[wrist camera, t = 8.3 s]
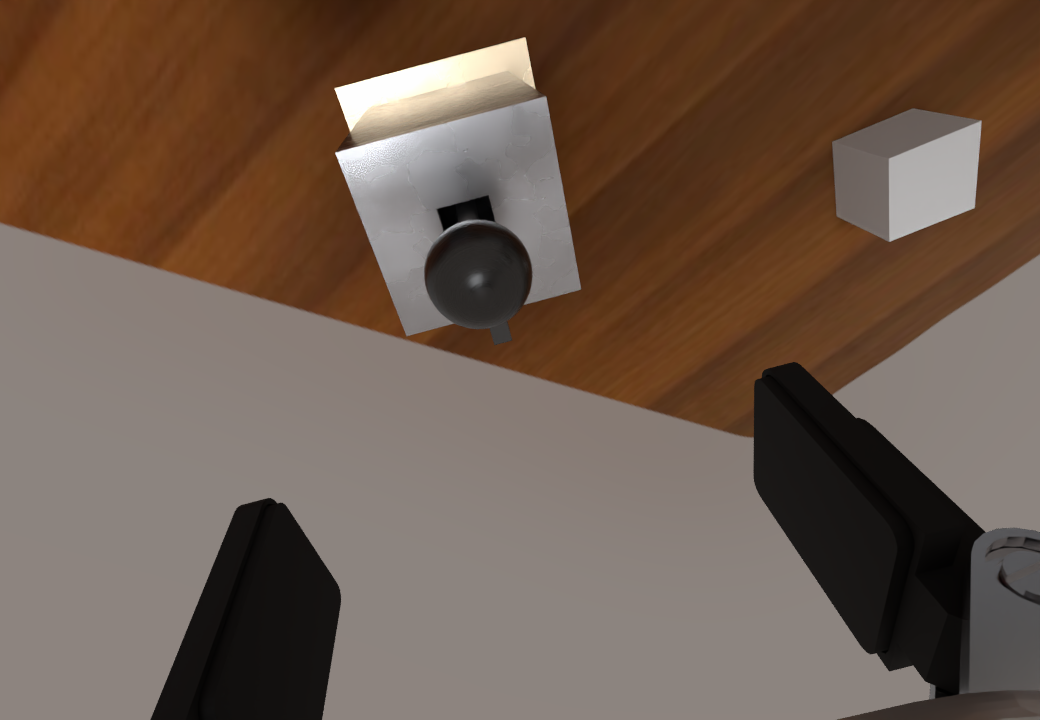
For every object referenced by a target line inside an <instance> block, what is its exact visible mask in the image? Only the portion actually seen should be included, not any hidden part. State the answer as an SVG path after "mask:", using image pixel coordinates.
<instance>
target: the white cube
mask: <svg viewBox="0 0 1040 720" xmlns="http://www.w3.org/2000/svg"><path fill="white" fill-rule="evenodd" d="M981 122H982V121H980V120H975V119H969V118H964V117H958V116H953V115H947V114H941V113H936V112H930V111H925V110H919V109H914V108H913V109H910V110H908V111H905V112H903V113H900V114H898V115H896V116H893V117H891V118H888V119H886V120H884V121H881V122H879V123H876V124H874V125H872V126H869V127H867V128H864V129H862V130H860V131H857V132H855V133H852V134H850V135H847V136H845V137H843V138H840V139H838V140H835V141H833V142H832V147H833V163H834V179H835V195H836V212H837V217H839V218H841V219H843V220H845V221H847V222H849V223H851V224H853V225H856V226H858V227H860V228H862V229H864V230H866V231H868V232H870V233H872V234H874V235H876V236H878V237H881V238H883V239H885V240H887V241H889V242H890V241H893V240H895V239H898V238H900V237H903V236H905V235H908V234H910V233H913V232H915V231H918V230H920V229H923V228H925V227H928V226H930V225H933V224H935V223H938V222H940V221H943V220H945V219H948V218H950V217H953V216H955V215H958V214H960V213H963V212H965V211H968V210H970V209H973V208H975V196H976V184H977V172H978V159H979V147H980V134H981Z"/></svg>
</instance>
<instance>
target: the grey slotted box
mask: <svg viewBox="0 0 1040 720" xmlns="http://www.w3.org/2000/svg"><path fill="white" fill-rule="evenodd" d="M335 91H336V93H337V96H338V99H339V102H340V104H341V107H342V110H343V113H344V115H345V118H346V121H347V123H348V126H349V129H350V133H349V134H348V136H347V137H346V139H345V140H344V141H343V143H342V144H341V145H340V147H339V148H338V150H337V151H336V152H335V153H336V156H337V158H338V161H339V163H340V166H341V169H342V171H343V174H344V176H345V179H346V181H347V184H348V187H349V189H350V192H351V194H352V197H353V199H354V202H355V205H356V207H357V210H358V212H359V215H360V217H361V220H362V223H363V225H364V228H365V230H366V233H367V235H368V238H369V241H370V243H371V246H372V248H373V251H374V253H375V256H376V259H377V261H378V264H379V266H380V269H381V271H382V274H383V277H384V279H385V282H386V284H387V287H388V289H389V292H390V295H391V297H392V300H393V302H394V305H395V307H396V310H397V313H398V315H399V318H400V320H401V323H402V325H403V328H404V331H405V333H406V336H409V335H412V334H416V333H420V332H424V331H427V330H431V329H435V328H439V327H442V326H446V325H450V324H454V323H453V322H451V321H450V320H448V319H447V318H446V317H444V316H443V315H442V314H441V313H440V312H439V311H438V310H437V309H436V307H435V306H434V305H433V303H432V301H431V300H430V298H429V295H428V293H427V290H426V286H425V280H424V267H425V261H426V257H427V254H428V252H429V250H430V247H431V246H432V244H433V243H434V241H435V240H436V239H437V238H438V237H439V235H440V234H441V233H443V232H444V231H445V230H444V227H443V224H442V221H441V218H440V214H439V211H438V208H442V207H446V206H449V205H453V204H457V203H461V202H464V201H468V200H472V199H476V198H479V197H483V196H487V195H488V196H489V200H490V204H491V207H492V211H493V215H494V219H495V222H496V223H499V224H501V225H503V226H505V227H506V228H508V229H509V230H511V231H512V232H513V233H514V234H515V235H516V236H517V237H518V238H519V239H520V240H521V241H522V243H523V245H524V246H525V248H526V249H527V252H528V254H529V257H530V260H531V264H532V270H533V278H532V286H531V290H530V293H529V295H528V298H527V300H526V302H525V303H524V305H525V304H529V303H532V302H536V301H540V300H544V299H547V298H551V297H555V296H559V295H562V294H566V293H570V292H574V291H577V290H581V286H580V280H579V275H578V269H577V264H576V258H575V253H574V247H573V242H572V236H571V231H570V225H569V220H568V214H567V209H566V203H565V198H564V192H563V187H562V181H561V176H560V170H559V165H558V159H557V154H556V148H555V143H554V137H553V131H552V126H551V120H550V115H549V109H548V104H547V98H546V96H545V95H543V94H542V93H540V92H539V91H537V90H536V89H535V85H534V80H533V74H532V69H531V64H530V59H529V53H528V48H527V43H526V37H523V38H519V39H515V40H511V41H508V42H504V43H500V44H497V45H493V46H489V47H485V48H482V49H478V50H474V51H470V52H467V53H463V54H459V55H455V56H452V57H448V58H444V59H440V60H437V61H433V62H429V63H426V64H422V65H418V66H414V67H411V68H407V69H403V70H399V71H396V72H392V73H388V74H384V75H381V76H377V77H373V78H369V79H366V80H362V81H358V82H355V83H351V84H347V85H343V86H340V87H336V88H335ZM490 331H491V334H492V338H493V341H494V345H497V344H500V343H504V342H508V341H512V338H511V334H510V330H509V326H508V322H507V321H506V322H504V323H502V324H500V325H498V326H495V327H491V328H490Z"/></svg>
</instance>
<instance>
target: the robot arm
mask: <svg viewBox="0 0 1040 720" xmlns="http://www.w3.org/2000/svg"><path fill="white" fill-rule="evenodd" d="M754 482H755V486H756V489H757V491H758V493H759V495H760V497H761V498H762V500H763V501H764V503H765V504H766V506H767V507H768V508H769V510H770V512H771V513H772V515H773V516H774V518H775V519H776V521H777V522H778V523H779V525H780V526H781V528H782V529H783V531H784V532H785V534H786V535H787V537H788V538H789V540H790V541H791V543H792V544H793V546H794V547H795V549H796V550H797V552H798V553H799V554H800V556H801V558H802V559H803V561H804V562H805V564H806V565H807V566H808V568H809V569H810V571H811V572H812V574H813V575H814V577H815V578H816V580H817V581H818V583H819V584H820V586H821V587H822V589H823V590H824V592H825V593H826V595H827V596H828V598H829V599H830V601H831V602H832V604H833V605H834V607H835V608H836V610H837V611H838V613H839V614H840V616H841V617H842V619H843V620H844V622H845V623H846V625H847V626H848V628H849V629H850V631H851V632H852V633H853V635H854V636H855V638H856V639H857V641H858V642H859V644H860V645H861V646H862V648H863V649H864V650H865V651H866V652H867V653H869V654H875V653H877V654H878V656H879V657H880V659H881V660H882V662H883V663H884V665H885V666H886V668H887V669H888V670H889V671H893V670H897V669H901V668H904V667H908V666H912V665H914V667H915V668H916V670H917V671H918V672H919V674H920V675H921V676H922V678H923V679H924V680H925V681H926V682H928V683H930V695H929V700H924V701H919V702H913V703H908V704H904V705H900V706H895V707H891V708H886V709H882V710H878V711H873V712H869V713H864V714H860V715H855V716H851V717H847V718H842V719H838V720H1040V532H1037V531H1034V530H1027V529H1020V528H1002V529H995V530H992V531H989V532H987V533H986V532H985V531H984V530H983V529H982V528H981V527H979V526H978V525H977V524H976V523H975V522H974V521H973V520H972V519H971V518H970V517H969V516H968V515H967V514H966V513H965V512H963V510H961V509H960V508H959V507H958V506H957V505H956V504H955V503H954V502H953V501H952V500H951V499H950V498H949V497H948V496H947V495H946V494H944V493H943V492H942V491H941V490H940V489H939V488H938V487H937V486H936V485H935V484H934V483H933V482H932V481H931V480H930V479H929V478H928V477H926V476H925V475H924V474H923V473H922V472H921V471H920V470H919V469H918V468H917V467H916V466H915V465H914V464H912V462H910V461H909V460H908V459H907V458H906V457H905V456H904V455H903V454H902V453H901V452H900V451H899V450H898V449H897V448H896V447H894V446H893V445H892V444H891V443H890V442H889V441H888V440H887V439H886V438H885V437H884V436H883V435H882V434H881V433H880V432H879V431H877V430H876V428H874V427H873V426H872V425H871V424H870V423H868V422H867V421H865V420H863V419H860V418H855V417H854V416H853V415H852V414H851V413H850V412H849V411H848V410H847V409H846V408H845V407H844V406H842V404H841V403H839V402H838V401H837V400H836V399H835V398H834V397H833V396H832V395H831V394H830V393H829V392H828V391H827V390H826V389H825V388H824V387H823V386H822V385H821V384H820V383H819V382H818V381H817V380H816V379H815V378H814V377H812V376H811V375H810V374H809V373H808V372H807V371H806V370H805V369H804V368H803V367H802V366H801V365H800V364H798V363H796V362H792V363H788V364H784V365H781V366H777V367H773V368H769V369H766V370H764V371H763V373H762V378H761V379H757V380H756V381H755V386H754ZM340 605H341V594H340V589H339V586H338V584H337V583H336V581H335V579H334V578H333V576H332V575H331V573H330V572H329V570H328V569H327V567H326V566H325V564H324V563H323V561H322V560H321V558H320V557H319V555H318V554H317V552H316V551H315V549H314V547H313V546H312V544H311V543H310V541H309V540H308V538H307V537H306V535H305V534H304V532H303V531H302V529H301V528H300V526H299V525H298V523H297V522H296V520H295V518H294V517H293V515H292V514H291V512H290V511H289V509H288V508H287V506H286V505H285V504H283V503H278V504H277V503H276V501H275V500H273V499H271V498H267V499H263V500H259V501H256V502H252V503H248V504H244V505H241V506H239V507H238V508H237V509H236V511H235V513H234V515H233V518H232V520H231V523H230V525H229V528H228V530H227V532H226V535H225V537H224V540H223V542H222V545H221V547H220V550H219V552H218V555H217V557H216V560H215V562H214V564H213V567H212V569H211V572H210V574H209V577H208V579H207V582H206V584H205V587H204V589H203V592H202V594H201V597H200V599H199V602H198V604H197V606H196V609H195V611H194V614H193V616H192V619H191V621H190V624H189V626H188V629H187V631H186V634H185V636H184V639H183V641H182V643H181V646H180V648H179V651H178V653H177V656H176V658H175V661H174V663H173V666H172V668H171V671H170V673H169V676H168V678H167V680H166V683H165V685H164V688H163V690H162V693H161V695H160V698H159V700H158V703H157V705H156V708H155V710H154V713H153V715H152V718H151V720H322V716H323V710H324V704H325V697H326V691H327V685H328V679H329V673H330V666H331V661H332V654H333V648H334V642H335V636H336V629H337V624H338V618H339V611H340Z"/></svg>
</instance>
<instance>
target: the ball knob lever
mask: <svg viewBox="0 0 1040 720" xmlns="http://www.w3.org/2000/svg"><path fill="white" fill-rule="evenodd" d="M438 211H439V214H440V218H441V221H442V224H443V227H444V230H445V231H444V232H443V233H441V234H440V235H439V237H438V238H437V239H436V240H435V241H434V243H433V244H432V246H431V247H430V250H429V252H428V254H427V257H426V261H425V267H424V280H425V286H426V290H427V293H428V295H429V298H430V300H431V301H432V303H433V305H434V306H435V307H436V309H437V310H438V311H439V312H440V313H441V314H442V315H443V316H444V317H446V318H447V319H448V320H450V321H451V322H453V323H455V324H457V325H460V326H463V327H467V328H472V329H486V328H491V327H495V326H498V325H500V324H502V323H504V322H506V321H508V320H509V319H511V318H512V317H513V316H514V315H516V314H517V312H518V311H519V310H520V309H521V308H522V307H523V305H524V303H525V302H526V300H527V298H528V295H529V293H530V290H531V286H532V278H533V270H532V264H531V260H530V257H529V254H528V252H527V249H526V248H525V246H524V245H523V243H522V241H521V240H520V239H519V238H518V237H517V236H516V235H515V234H514V233H513V232H512V231H511V230H509V229H508V228H506V227H505V226H503V225H501V224H499V223H496V222H495V219H494V215H493V211H492V207H491V204H490V200H489V196H488V195H487V196H483V197H479V198H476V199H472V200H468V201H464V202H461V203H457V204H453V205H449V206H446V207H442V208H438Z"/></svg>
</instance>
